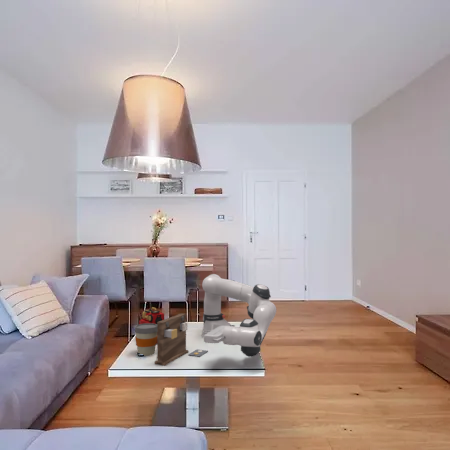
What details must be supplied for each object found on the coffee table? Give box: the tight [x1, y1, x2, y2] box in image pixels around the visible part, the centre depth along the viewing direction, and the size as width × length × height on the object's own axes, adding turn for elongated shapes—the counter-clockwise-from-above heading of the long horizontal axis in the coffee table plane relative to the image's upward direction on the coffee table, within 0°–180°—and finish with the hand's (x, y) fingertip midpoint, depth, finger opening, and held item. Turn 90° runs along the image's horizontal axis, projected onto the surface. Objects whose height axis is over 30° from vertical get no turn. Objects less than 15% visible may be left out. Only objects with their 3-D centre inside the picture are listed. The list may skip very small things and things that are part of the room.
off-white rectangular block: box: [180, 321, 188, 331], centre depth 198 cm, size 7×4×4 cm, turn 66°
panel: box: [154, 312, 189, 367], centre depth 191 cm, size 6×23×21 cm, turn 156°
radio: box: [138, 306, 165, 325], centre depth 221 cm, size 16×10×20 cm, turn 41°
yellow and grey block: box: [164, 329, 177, 339], centre depth 184 cm, size 7×4×4 cm, turn 66°
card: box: [187, 348, 209, 358], centre depth 198 cm, size 7×10×1 cm
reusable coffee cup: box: [134, 323, 157, 357], centre depth 199 cm, size 13×12×15 cm
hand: (203, 332), depth 186 cm, fingers closed
